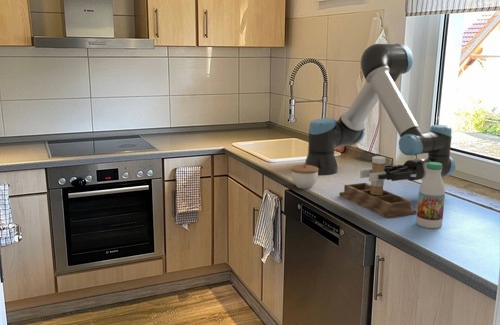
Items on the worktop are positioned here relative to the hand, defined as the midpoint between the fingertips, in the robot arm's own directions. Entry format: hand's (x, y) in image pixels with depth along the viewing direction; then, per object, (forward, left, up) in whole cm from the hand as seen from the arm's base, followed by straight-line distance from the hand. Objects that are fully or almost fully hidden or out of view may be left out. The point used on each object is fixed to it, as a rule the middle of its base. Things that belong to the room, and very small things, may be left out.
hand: (365, 175), depth 173 cm
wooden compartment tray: (0, +5, -11) cm, 12 cm away
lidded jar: (-30, -7, -11) cm, 33 cm away
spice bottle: (0, +5, -7) cm, 9 cm away
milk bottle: (+24, +7, -11) cm, 27 cm away
